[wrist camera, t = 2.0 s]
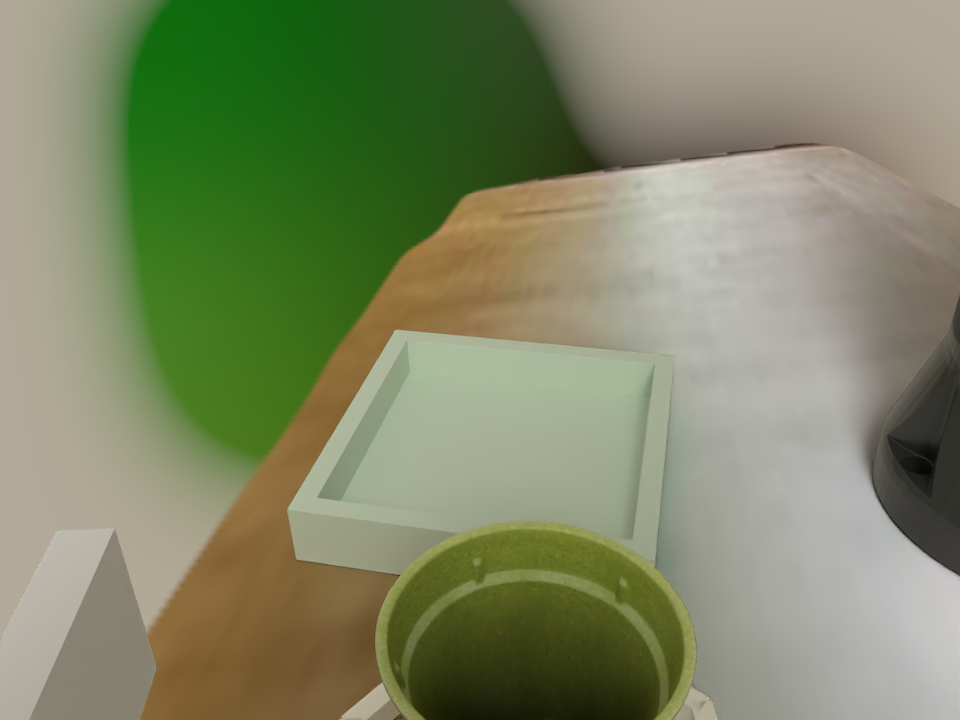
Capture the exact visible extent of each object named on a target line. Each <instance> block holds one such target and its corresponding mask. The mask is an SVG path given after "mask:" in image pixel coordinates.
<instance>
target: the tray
mask: <svg viewBox="0 0 960 720" xmlns="http://www.w3.org/2000/svg"><path fill="white" fill-rule="evenodd" d="M674 357H675V356H673V355H662V354H652V353H641V352H630V351H619V350H609V349H598V348H587V347H576V346H566V345H555V344H544V343H533V342H522V341H512V340H501V339H490V338H479V337H469V336H458V335H447V334H436V333H426V332H415V331H404V330H395V332H394V333H393V335H392V337H391V338H390V340H389V341H388V343H387V345H386V346H385V348H384V350H383V351H382V353H381V355H380V356H379V358H378V360H377V361H376V363H375V365H374V366H373V368H372V370H371V371H370V373H369V375H368V376H367V378H366V380H365V381H364V383H363V385H362V386H361V388H360V390H359V391H358V393H357V395H356V396H355V398H354V400H353V401H352V403H351V404H350V406H349V408H348V409H347V411H346V413H345V414H344V416H343V418H342V419H341V421H340V423H339V424H338V426H337V428H336V429H335V431H334V433H333V434H332V436H331V438H330V439H329V441H328V443H327V444H326V446H325V448H324V449H323V451H322V453H321V454H320V456H319V458H318V459H317V461H316V463H315V464H314V466H313V467H312V469H311V471H310V472H309V474H308V476H307V477H306V479H305V481H304V482H303V484H302V486H301V487H300V489H299V491H298V492H297V494H296V496H295V497H294V499H293V501H292V502H291V504H290V506H289V507H288V509H287V512H288V517H289V523H290V528H291V534H292V539H293V545H294V550H295V556H296V560H303V561H310V562H316V563H323V564H330V565H336V566H343V567H350V568H356V569H363V570H370V571H376V572H383V573H390V574H396V575H401V574H402V573H403V572H404V571H405V570H406V569H407V568H408V567H409V566H410V564H411V563H412V562H414V561H415V560H416V559H417V558H419V557H420V556H421V555H422V554H424V553H425V552H426V551H428V550H429V549H431V548H432V547H434V546H436V545H438V544H439V543H441V542H442V541H444V540H446V539H448V538H450V537H452V536H454V535H456V534H459V533H462V532H465V531H468V530H471V529H474V528H478V527H481V526H485V525H490V524H495V523H504V522H517V521H542V522H553V523H560V524H566V525H572V526H576V527H580V528H583V529H585V530H588V531H591V532H595V533H598V534H601V535H603V536H606V537H608V538H610V539H612V540H614V541H616V542H618V543H620V544H622V545H624V546H625V547H627V548H629V549H630V550H633V551H634V552H636V553H637V554H639V555H640V556H641V557H643V558H644V559H645V560H647V561H648V562H649V563H650V564H652V565H653V566H654V567H655V559H656V548H657V537H658V527H659V516H660V506H661V495H662V484H663V474H664V463H665V453H666V442H667V431H668V421H669V410H670V399H671V389H672V378H673V368H674Z"/></svg>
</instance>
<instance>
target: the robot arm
mask: <svg viewBox="0 0 960 720" xmlns="http://www.w3.org/2000/svg"><path fill="white" fill-rule="evenodd" d="M873 480H874V484H875V488H876V491H877V493H878V496H879V498H880V500H881V502H882V504H883V506H884V507H885V509H886V511H887V512H888V514H889V515H890V516H891V518H892V519H893V520H894V521H895V523H896V524H897V525H898V526H899V527H900V529H901V530H902V531H903V532H904V533H905V534H906V535H907V536H908V537H909V538H910V539H911V540H913V541H914V542H915V543H916V544H917V545H918V546H919V547H921V548H922V549H923V550H924V551H925V552H927V553H928V554H929V555H931V556H932V557H933V558H935V559H936V560H938V561H939V562H941V563H942V564H944V565H945V566H947V567H948V568H950V569H951V570H953V571H955V572H956V573H958V574H960V296H959V300H958V303H957V307H956V310H955V314H954V318H953V321H952V324H951V327H950V330H949V332H948V334H947V335H946V337H945V338H944V339H943V341H942V342H941V343H940V345H939V346H938V347H937V349H936V350H935V351H934V353H933V354H932V355H931V357H930V358H929V359H928V361H927V362H926V363H925V365H924V366H923V367H922V369H921V370H920V371H919V373H918V374H917V375H916V377H915V378H914V379H913V381H912V382H911V383H910V385H909V386H908V387H907V389H906V390H905V391H904V393H903V394H902V395H901V397H900V398H899V399H898V401H897V402H896V403H895V405H894V406H893V407H892V409H891V410H890V412H889V413H888V415H887V417H886V419H885V422H884V424H883V426H882V430H881V433H880V437H879V441H878V445H877V449H876V453H875V457H874V461H873ZM156 669H157V666H156V663H155V660H154V656H153V653H152V650H151V646H150V643H149V640H148V636H147V633H146V630H145V627H144V623H143V620H142V617H141V614H140V610H139V607H138V604H137V600H136V597H135V594H134V590H133V587H132V584H131V580H130V577H129V574H128V571H127V567H126V564H125V561H124V557H123V554H122V551H121V547H120V544H119V541H118V538H117V534H116V531H115V528H110V529H86V530H61V531H57V532H56V534H55V535H54V537H53V539H52V541H51V543H50V545H49V547H48V549H47V551H46V553H45V554H44V556H43V558H42V560H41V562H40V564H39V566H38V568H37V570H36V572H35V574H34V576H33V578H32V579H31V581H30V583H29V585H28V587H27V589H26V591H25V593H24V595H23V596H22V598H21V600H20V602H19V604H18V606H17V608H16V610H15V612H14V614H13V616H12V618H11V619H10V621H9V623H8V625H7V627H6V629H5V631H4V633H3V635H2V637H1V638H0V720H140V718H141V715H142V712H143V709H144V706H145V703H146V700H147V697H148V694H149V691H150V688H151V685H152V682H153V678H154V675H155V672H156Z"/></svg>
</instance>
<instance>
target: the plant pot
mask: <svg viewBox="0 0 960 720" xmlns="http://www.w3.org/2000/svg"><path fill="white" fill-rule="evenodd" d="M375 649H376V658H377V664H378V669H379V673H380V676H381V679H382V682H383V685H384V687H385V690H386V692H387V694H388V696H389V697H390V699H391V701H392V702H393V704H394V705H395V707H396V709H397V710H398V711H399V713H400V714H401V715H402V717H403V718H404V719H405V720H673V719H674V718H675V717H676V715H677V714H678V713H679V711H680V709H681V708H682V706H683V704H684V702H685V700H686V698H687V696H688V693H689V690H690V687H691V684H692V681H693V677H694V673H695V668H696V657H697V647H696V639H695V633H694V629H693V625H692V622H691V619H690V616H689V614H688V612H687V610H686V607H685V605H684V603H683V602H682V600H681V598H680V597H679V595H678V594H677V593H676V591H675V590H674V588H673V587H672V586H671V584H670V583H669V582H668V581H667V580H666V578H665V577H664V576H663V575H662V574H661V573H660V572H659V571H658V570H657V569H656V568H655V567H654V566H653V565H652V564H650V563H649V562H648V561H647V560H645V559H644V558H643V557H641V556H640V555H639V554H637V553H636V552H634V551H633V550H630V549H629V548H627V547H625V546H624V545H622V544H620V543H618V542H616V541H614V540H612V539H610V538H608V537H606V536H603V535H601V534H598V533H595V532H591V531H588V530H585V529H583V528H580V527H576V526H572V525H566V524H560V523H553V522H542V521H517V522H504V523H495V524H490V525H485V526H481V527H478V528H474V529H471V530H468V531H465V532H462V533H459V534H456V535H454V536H452V537H450V538H448V539H446V540H444V541H442V542H441V543H439V544H438V545H436V546H434V547H432V548H431V549H429V550H428V551H426V552H425V553H424V554H422V555H421V556H420V557H419V558H417V559H416V560H415V561H414V562H412V563H411V564H410V566H409V567H408V568H407V569H406V570H405V571H404V572H403V573H402V574H401V575H400V577H399V578H398V579H397V580H396V582H395V583H394V585H393V586H392V588H391V589H390V591H389V593H388V595H387V597H386V599H385V601H384V602H383V605H382V607H381V610H380V613H379V616H378V620H377V625H376V633H375Z"/></svg>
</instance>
